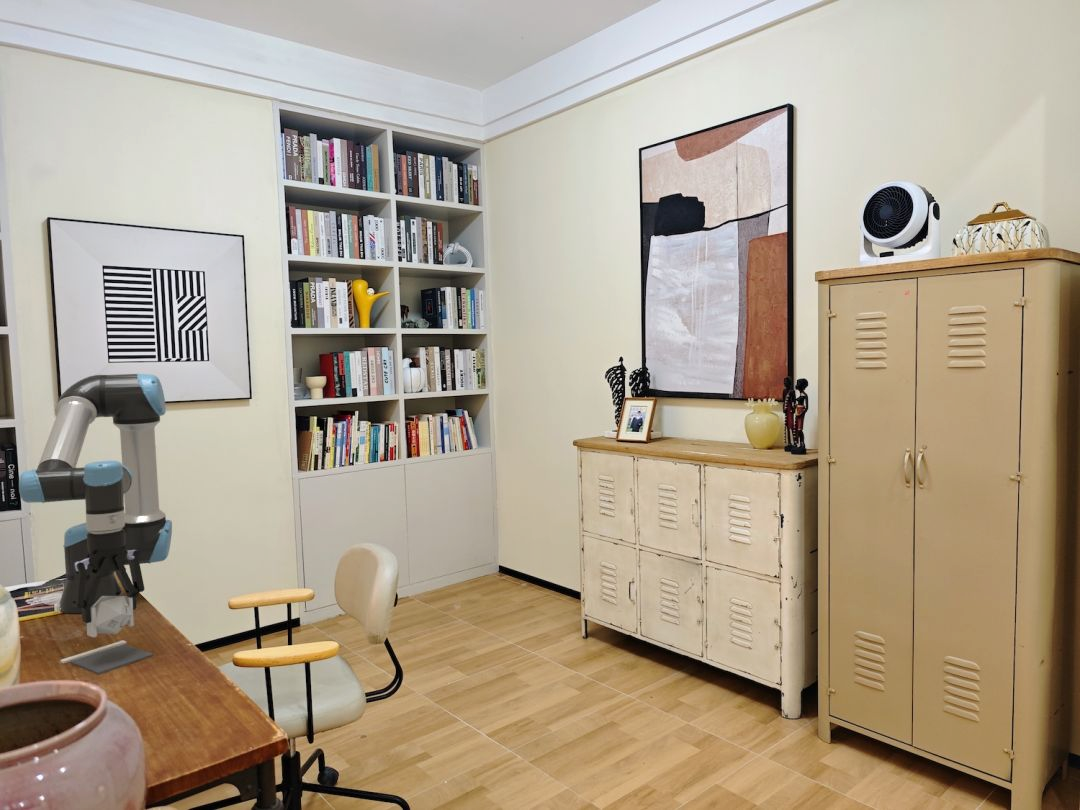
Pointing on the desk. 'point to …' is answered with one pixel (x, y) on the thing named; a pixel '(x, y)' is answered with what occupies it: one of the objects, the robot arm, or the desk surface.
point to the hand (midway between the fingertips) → (110, 630)
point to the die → (111, 614)
